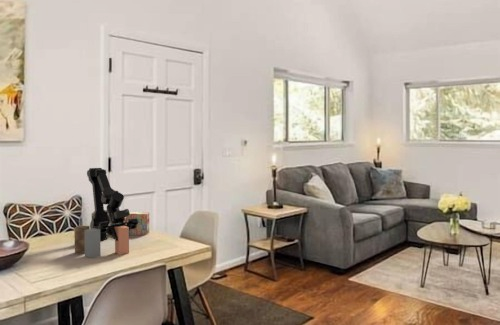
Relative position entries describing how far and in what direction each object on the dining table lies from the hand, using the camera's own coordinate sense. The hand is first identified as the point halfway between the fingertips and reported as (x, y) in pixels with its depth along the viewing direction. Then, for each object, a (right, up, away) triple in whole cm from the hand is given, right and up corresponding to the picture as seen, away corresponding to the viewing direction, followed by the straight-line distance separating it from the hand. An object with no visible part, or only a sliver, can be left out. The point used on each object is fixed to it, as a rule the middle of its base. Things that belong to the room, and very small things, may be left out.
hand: (123, 239), depth 208 cm
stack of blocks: (-9, -5, +44) cm, 45 cm away
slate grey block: (-13, -7, -5) cm, 15 cm away
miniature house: (-27, -4, +51) cm, 58 cm away
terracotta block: (-1, -7, +1) cm, 7 cm away
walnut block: (-20, -6, +2) cm, 21 cm away
